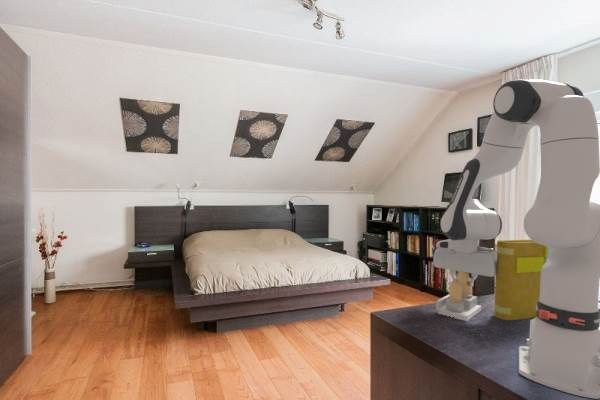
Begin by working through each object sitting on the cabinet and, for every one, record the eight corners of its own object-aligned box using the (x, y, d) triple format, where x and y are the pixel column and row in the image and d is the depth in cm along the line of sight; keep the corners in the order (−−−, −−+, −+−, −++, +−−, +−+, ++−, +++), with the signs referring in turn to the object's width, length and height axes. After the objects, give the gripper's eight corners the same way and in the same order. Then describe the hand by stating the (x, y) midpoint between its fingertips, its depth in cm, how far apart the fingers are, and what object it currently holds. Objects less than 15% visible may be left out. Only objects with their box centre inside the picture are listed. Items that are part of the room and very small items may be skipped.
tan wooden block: (466, 296, 119) (467, 270, 119) (455, 294, 122) (456, 268, 121) (469, 294, 122) (470, 269, 122) (458, 292, 124) (460, 267, 124)
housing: (466, 321, 110) (468, 288, 110) (435, 313, 117) (436, 281, 117) (481, 310, 121) (482, 280, 121) (451, 303, 128) (452, 274, 128)
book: (526, 310, 123) (529, 239, 122) (545, 316, 116) (548, 242, 116) (488, 314, 117) (492, 240, 117) (506, 321, 111) (509, 243, 110)
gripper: (500, 248, 116) (498, 289, 117) (439, 240, 130) (437, 277, 131) (495, 250, 112) (493, 292, 112) (432, 242, 126) (430, 280, 126)
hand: (462, 284), depth 122 cm, fingers closed on tan wooden block, 4 cm apart
